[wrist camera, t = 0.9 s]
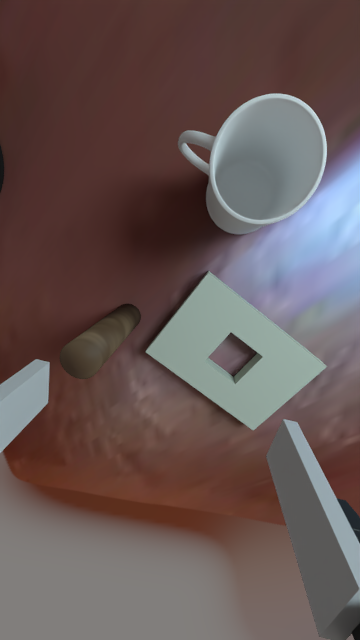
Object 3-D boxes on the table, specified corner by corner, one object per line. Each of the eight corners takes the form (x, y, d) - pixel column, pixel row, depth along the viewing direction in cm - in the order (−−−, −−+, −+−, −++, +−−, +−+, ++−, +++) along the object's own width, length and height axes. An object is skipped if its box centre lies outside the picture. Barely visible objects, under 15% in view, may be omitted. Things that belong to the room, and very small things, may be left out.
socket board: (148, 346, 35) (145, 351, 33) (208, 270, 31) (208, 272, 29) (250, 421, 37) (253, 430, 36) (319, 359, 33) (326, 366, 31)
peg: (111, 317, 35) (52, 363, 21) (124, 298, 33) (71, 334, 20) (131, 332, 35) (86, 386, 22) (145, 314, 34) (106, 358, 21)
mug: (169, 194, 29) (146, 162, 18) (209, 120, 26) (211, 26, 15) (249, 248, 30) (276, 250, 18) (295, 181, 27) (359, 136, 16)
